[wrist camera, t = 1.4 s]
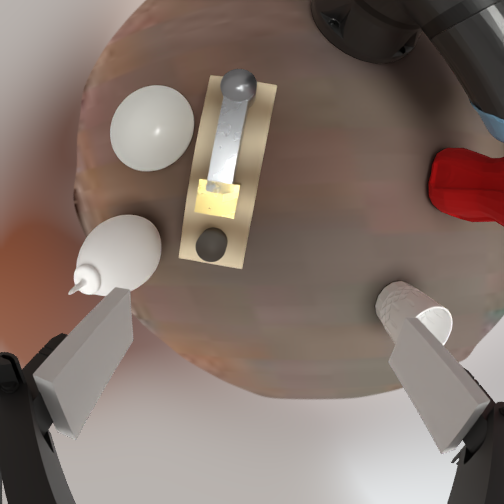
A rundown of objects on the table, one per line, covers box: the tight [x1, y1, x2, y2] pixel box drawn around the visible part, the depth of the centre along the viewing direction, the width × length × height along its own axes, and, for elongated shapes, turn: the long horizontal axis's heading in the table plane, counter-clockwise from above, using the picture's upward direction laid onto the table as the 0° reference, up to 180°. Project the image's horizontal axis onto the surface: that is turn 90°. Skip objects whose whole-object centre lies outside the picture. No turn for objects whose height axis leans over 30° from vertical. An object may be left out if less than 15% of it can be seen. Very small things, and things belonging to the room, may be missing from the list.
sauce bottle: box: [69, 215, 161, 296], centre depth 27 cm, size 8×8×18 cm
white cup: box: [375, 281, 452, 346], centre depth 34 cm, size 8×8×10 cm
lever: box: [194, 69, 257, 219], centre depth 26 cm, size 14×4×4 cm, turn 169°
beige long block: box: [179, 75, 277, 269], centre depth 30 cm, size 20×7×8 cm, turn 169°
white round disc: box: [110, 85, 194, 171], centre depth 32 cm, size 11×11×1 cm
